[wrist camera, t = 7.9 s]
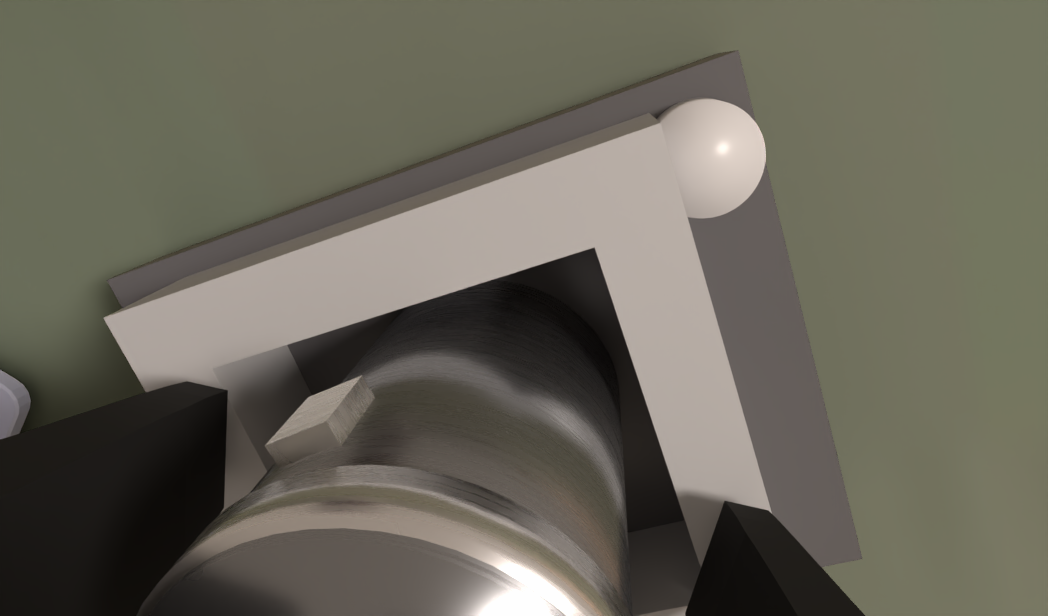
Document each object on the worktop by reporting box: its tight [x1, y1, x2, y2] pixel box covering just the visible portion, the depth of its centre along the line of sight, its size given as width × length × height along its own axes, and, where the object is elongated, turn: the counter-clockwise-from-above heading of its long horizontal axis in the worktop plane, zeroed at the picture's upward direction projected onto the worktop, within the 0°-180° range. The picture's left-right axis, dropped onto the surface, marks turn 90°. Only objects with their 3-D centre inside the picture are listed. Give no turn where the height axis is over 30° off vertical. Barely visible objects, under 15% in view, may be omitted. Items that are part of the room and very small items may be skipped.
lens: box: [137, 280, 632, 616], centre depth 9 cm, size 5×5×6 cm
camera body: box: [104, 50, 862, 616], centre depth 12 cm, size 11×9×4 cm
